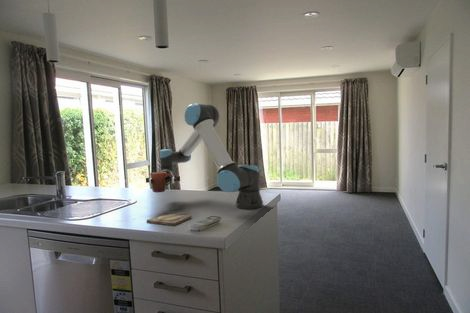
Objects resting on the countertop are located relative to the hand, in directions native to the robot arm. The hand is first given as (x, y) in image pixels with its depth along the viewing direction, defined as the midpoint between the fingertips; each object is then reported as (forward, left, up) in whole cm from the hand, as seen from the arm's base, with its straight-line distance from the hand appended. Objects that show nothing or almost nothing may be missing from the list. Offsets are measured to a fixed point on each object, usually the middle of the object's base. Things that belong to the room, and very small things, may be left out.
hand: (161, 181), depth 176 cm
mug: (+2, -3, -6) cm, 7 cm away
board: (-13, +12, -17) cm, 24 cm away
